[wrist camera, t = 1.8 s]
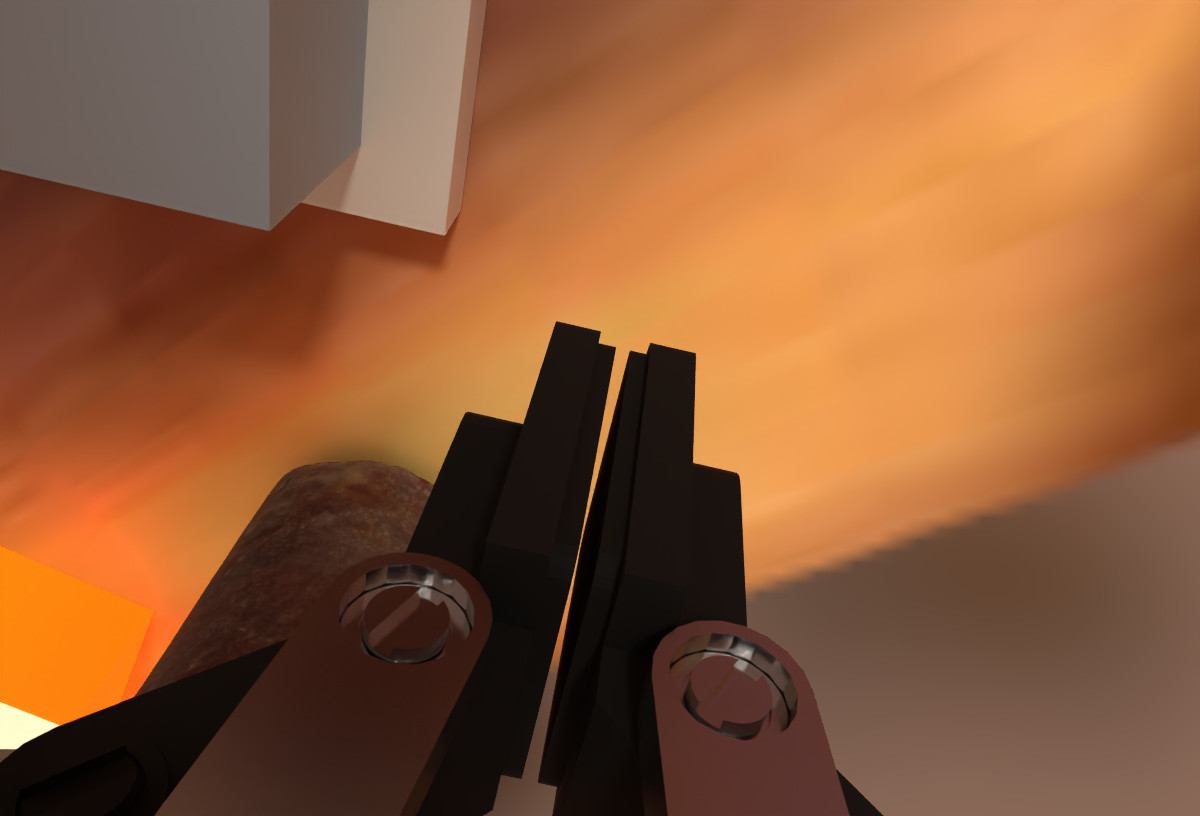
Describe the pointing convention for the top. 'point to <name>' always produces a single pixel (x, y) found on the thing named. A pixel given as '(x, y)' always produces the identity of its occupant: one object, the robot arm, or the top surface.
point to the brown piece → (293, 559)
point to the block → (184, 99)
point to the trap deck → (412, 115)
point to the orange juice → (60, 648)
